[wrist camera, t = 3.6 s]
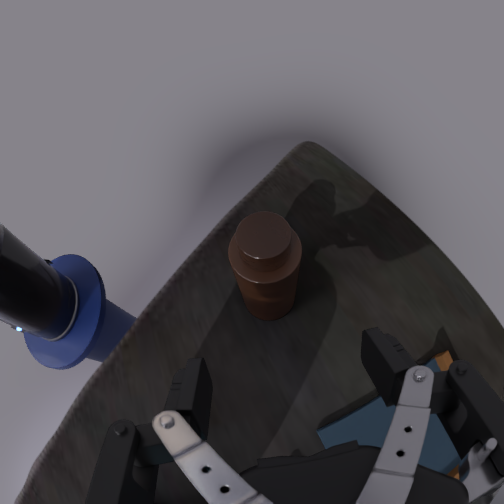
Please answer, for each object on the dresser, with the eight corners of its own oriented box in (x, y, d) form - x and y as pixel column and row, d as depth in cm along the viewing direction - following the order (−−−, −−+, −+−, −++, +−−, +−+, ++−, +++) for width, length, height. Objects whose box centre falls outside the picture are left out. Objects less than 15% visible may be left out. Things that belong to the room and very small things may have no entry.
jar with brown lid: (255, 328, 26) (240, 284, 16) (236, 284, 29) (212, 218, 18) (303, 307, 27) (319, 250, 16) (281, 265, 29) (281, 192, 19)
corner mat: (366, 528, 14) (372, 537, 12) (316, 430, 21) (320, 434, 19) (474, 451, 16) (486, 452, 13) (436, 354, 23) (448, 349, 20)
